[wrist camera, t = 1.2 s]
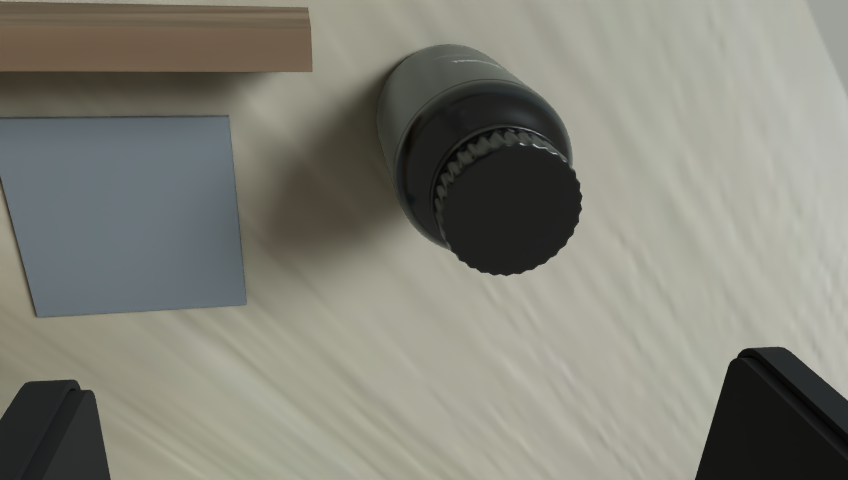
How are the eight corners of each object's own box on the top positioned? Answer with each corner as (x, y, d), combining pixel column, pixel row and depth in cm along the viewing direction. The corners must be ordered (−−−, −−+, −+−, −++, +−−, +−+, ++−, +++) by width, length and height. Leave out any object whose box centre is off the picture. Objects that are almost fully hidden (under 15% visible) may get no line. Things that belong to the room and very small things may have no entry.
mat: (-12, 117, 28) (-15, 119, 28) (228, 115, 30) (228, 117, 29) (39, 313, 32) (37, 317, 32) (246, 302, 34) (246, 305, 34)
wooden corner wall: (-180, -2, 25) (-305, 20, 20) (307, 7, 28) (310, 29, 23) (-50, 369, 33) (-116, 457, 28) (320, 344, 36) (324, 417, 31)
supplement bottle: (490, 19, 30) (596, 76, 19) (525, 151, 33) (632, 261, 23) (350, 71, 30) (381, 157, 19) (399, 198, 33) (448, 332, 23)
